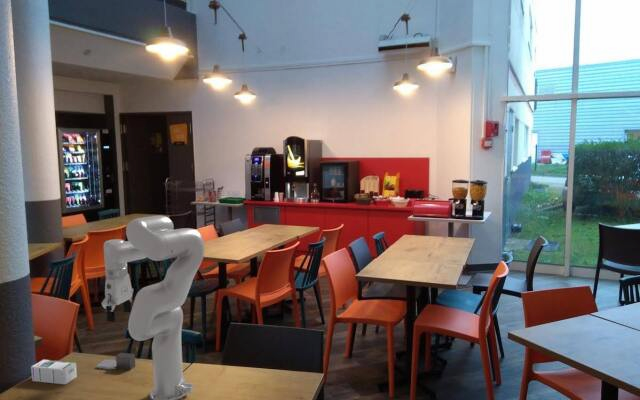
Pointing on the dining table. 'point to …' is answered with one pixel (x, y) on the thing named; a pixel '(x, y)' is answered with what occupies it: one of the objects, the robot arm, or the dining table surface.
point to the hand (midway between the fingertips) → (119, 316)
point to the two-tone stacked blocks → (119, 362)
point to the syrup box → (54, 371)
